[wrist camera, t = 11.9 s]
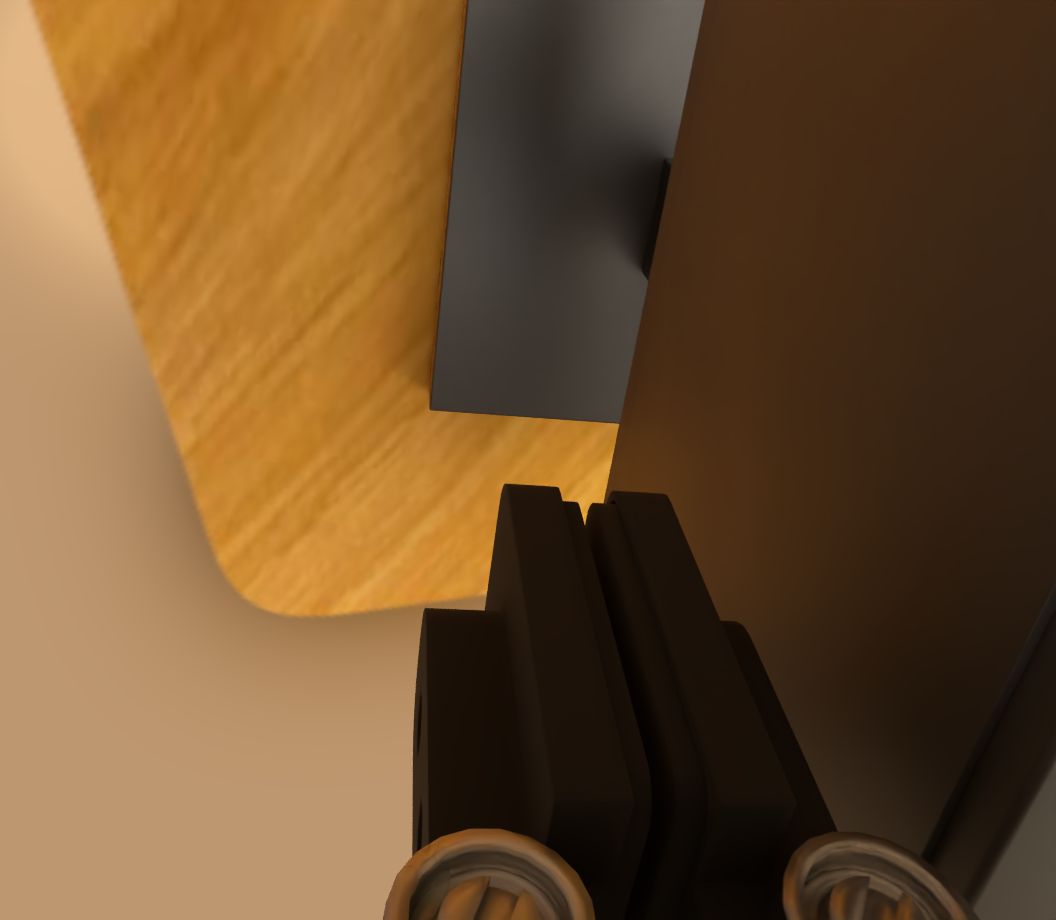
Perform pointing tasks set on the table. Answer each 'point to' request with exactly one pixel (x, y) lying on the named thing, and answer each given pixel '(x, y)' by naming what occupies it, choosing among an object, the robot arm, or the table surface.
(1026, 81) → the monitor screen
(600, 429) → the table surface
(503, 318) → the monitor stand
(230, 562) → the table surface
